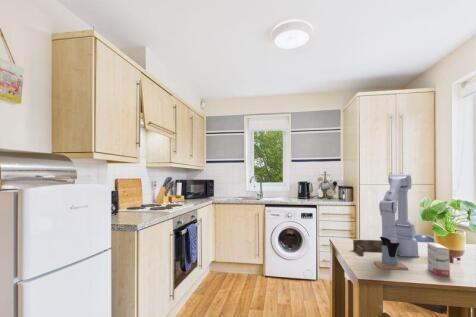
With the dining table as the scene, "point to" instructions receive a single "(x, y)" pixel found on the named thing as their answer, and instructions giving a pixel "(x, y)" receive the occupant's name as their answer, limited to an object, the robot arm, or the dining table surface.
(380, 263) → the tile
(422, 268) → the dining table surface
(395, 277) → the dining table surface
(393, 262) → the block
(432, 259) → the ink box
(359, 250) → the wooden u-shaped rack
